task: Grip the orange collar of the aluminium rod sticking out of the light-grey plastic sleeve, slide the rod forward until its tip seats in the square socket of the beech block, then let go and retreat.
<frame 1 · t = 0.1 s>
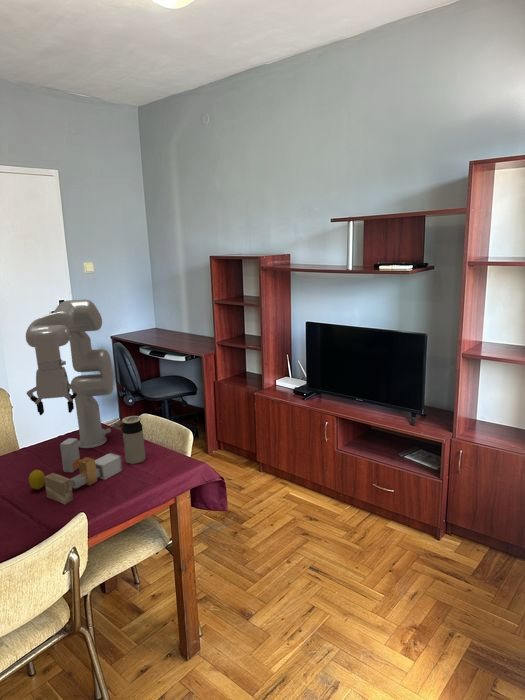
hand: (56, 412, 174), 31 cm above the table, tool pointing down, fingers open, 9 cm apart
rod: (93, 468, 189), point 5 cm above the table, slide at 0.0 cm
socket block: (60, 498, 177), on the table
sleeve: (108, 473, 195), on the table
travel mug: (135, 460, 206), on the table
lemon: (38, 489, 185), on the table
skincare box: (72, 469, 200), on the table
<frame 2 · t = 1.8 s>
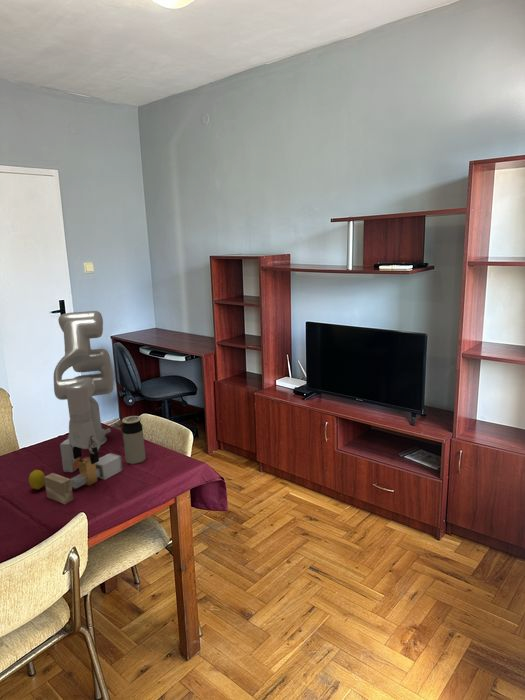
hand: (86, 460, 185), 10 cm above the table, tool pointing down, fingers open, 9 cm apart
nothing on the table moved.
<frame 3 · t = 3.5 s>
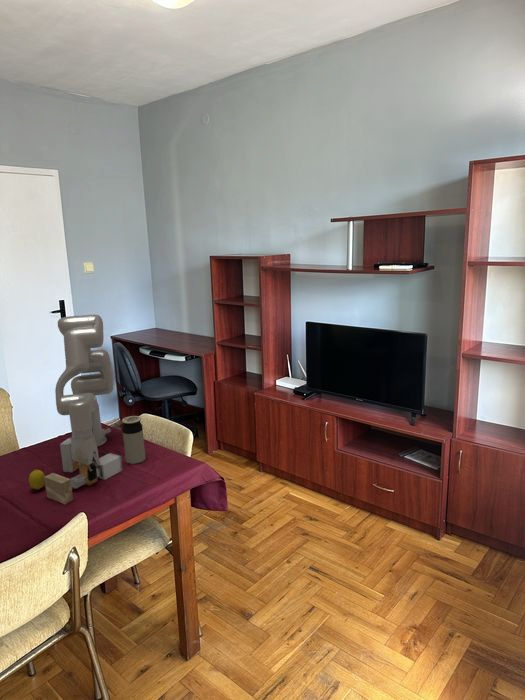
hand: (88, 477, 187), 2 cm above the table, tool pointing down, fingers closed on rod, 4 cm apart
rod: (93, 468, 189), point 5 cm above the table, slide at 0.0 cm, touching gripper
everything else where it was.
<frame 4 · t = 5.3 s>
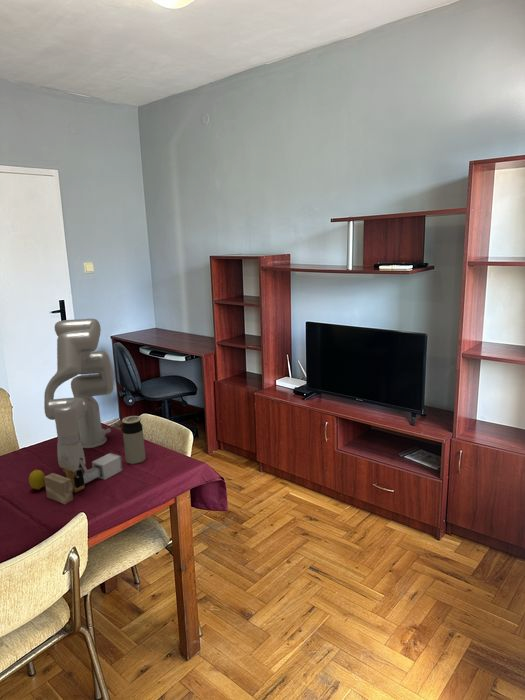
hand: (75, 484, 182), 2 cm above the table, tool pointing down, fingers closed on rod, 4 cm apart
rod: (80, 474, 184), point 5 cm above the table, slide at 5.9 cm, touching gripper
everything else where it was.
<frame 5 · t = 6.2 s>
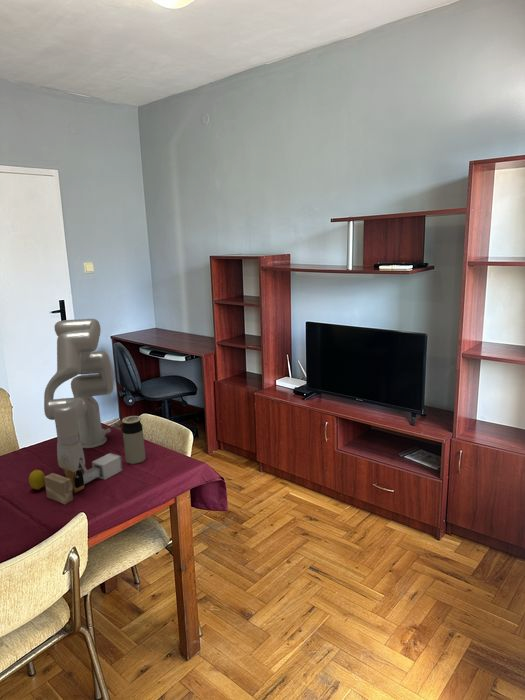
hand: (75, 484, 182), 2 cm above the table, tool pointing down, fingers closed on rod, 4 cm apart
rod: (80, 474, 184), point 5 cm above the table, slide at 6.0 cm, touching gripper
everything else where it was.
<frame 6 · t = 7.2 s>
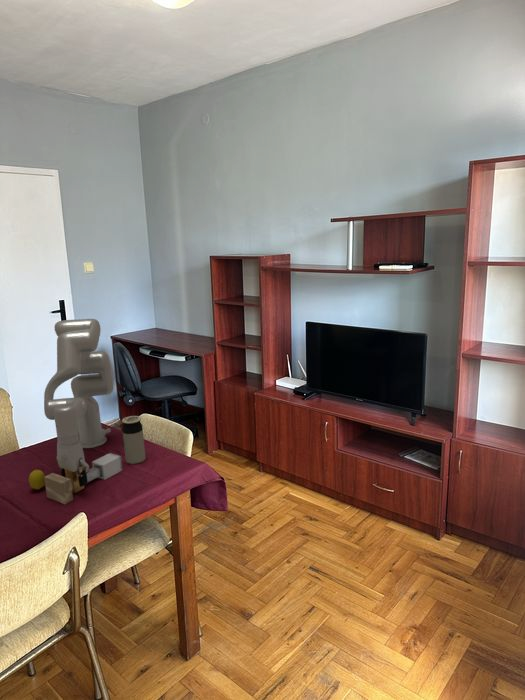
hand: (75, 481, 182), 3 cm above the table, tool pointing down, fingers open, 9 cm apart
rod: (80, 474, 184), point 5 cm above the table, slide at 6.0 cm
everything else where it was.
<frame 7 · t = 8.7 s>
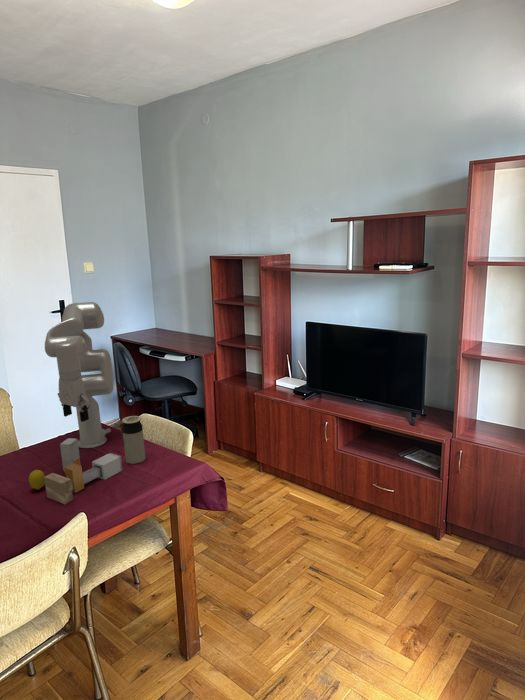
hand: (76, 417, 186), 25 cm above the table, tool pointing down, fingers open, 9 cm apart
nothing on the table moved.
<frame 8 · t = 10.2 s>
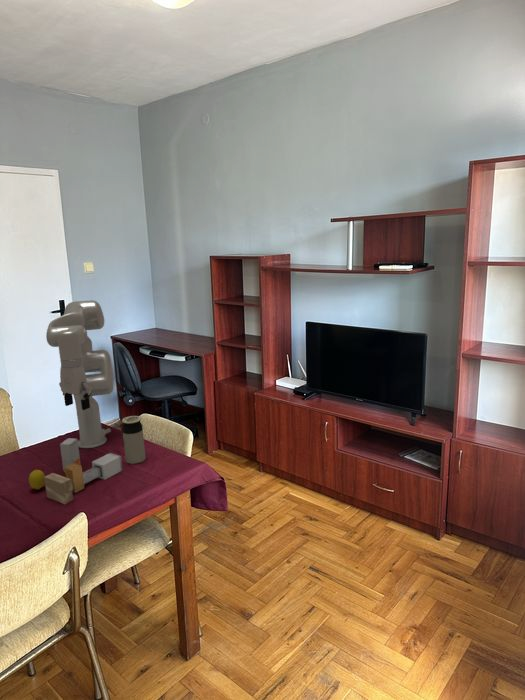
hand: (77, 406, 187), 28 cm above the table, tool pointing down, fingers open, 9 cm apart
nothing on the table moved.
at the end: rod slide at 6.0 cm; the gripper is holding nothing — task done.
